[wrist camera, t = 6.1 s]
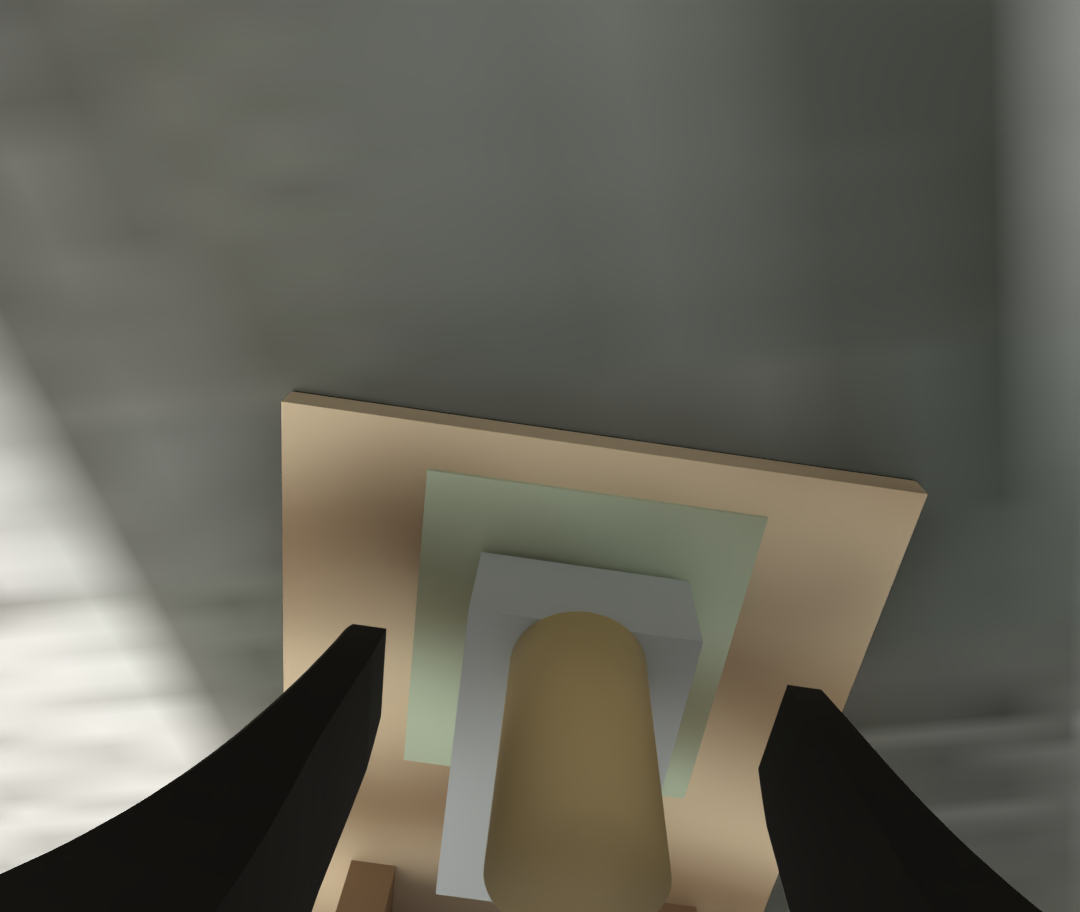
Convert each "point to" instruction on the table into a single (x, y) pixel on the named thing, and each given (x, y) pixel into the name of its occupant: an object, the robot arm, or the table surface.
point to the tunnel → (373, 887)
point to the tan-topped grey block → (566, 737)
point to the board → (585, 540)
